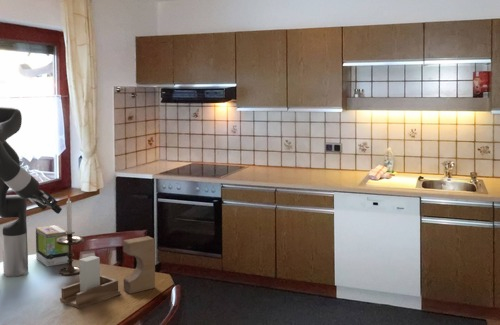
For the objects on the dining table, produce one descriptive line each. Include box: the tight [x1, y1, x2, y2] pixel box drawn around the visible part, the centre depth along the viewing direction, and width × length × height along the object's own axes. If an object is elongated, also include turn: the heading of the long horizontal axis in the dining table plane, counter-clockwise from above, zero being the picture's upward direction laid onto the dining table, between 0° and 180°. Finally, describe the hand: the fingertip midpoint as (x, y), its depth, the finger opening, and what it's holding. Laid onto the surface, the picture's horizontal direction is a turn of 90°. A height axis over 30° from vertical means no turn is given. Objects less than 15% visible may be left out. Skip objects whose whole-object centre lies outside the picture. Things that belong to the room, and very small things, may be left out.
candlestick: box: [56, 190, 84, 277], centre depth 222 cm, size 11×11×35 cm
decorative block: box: [122, 235, 156, 295], centre depth 206 cm, size 11×6×20 cm, turn 127°
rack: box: [59, 274, 121, 310], centre depth 198 cm, size 12×18×5 cm, turn 144°
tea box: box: [35, 224, 69, 267], centre depth 238 cm, size 15×10×15 cm, turn 39°
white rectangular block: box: [78, 255, 101, 292], centre depth 197 cm, size 4×6×14 cm, turn 144°
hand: (52, 209), depth 187 cm, fingers open, 8 cm apart
